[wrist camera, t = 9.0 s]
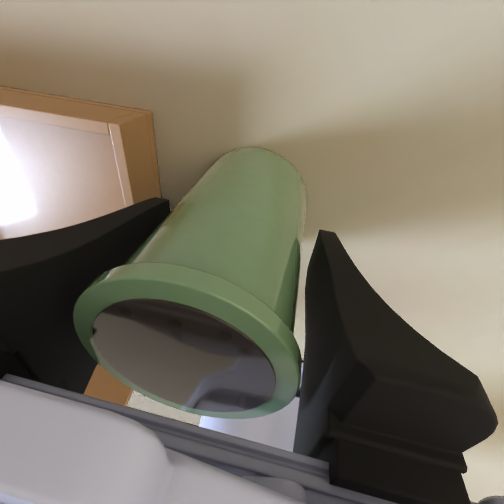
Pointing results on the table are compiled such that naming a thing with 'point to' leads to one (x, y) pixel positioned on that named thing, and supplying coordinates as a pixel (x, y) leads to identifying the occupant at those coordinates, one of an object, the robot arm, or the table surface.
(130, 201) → the carton
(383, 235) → the table surface
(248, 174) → the pot
